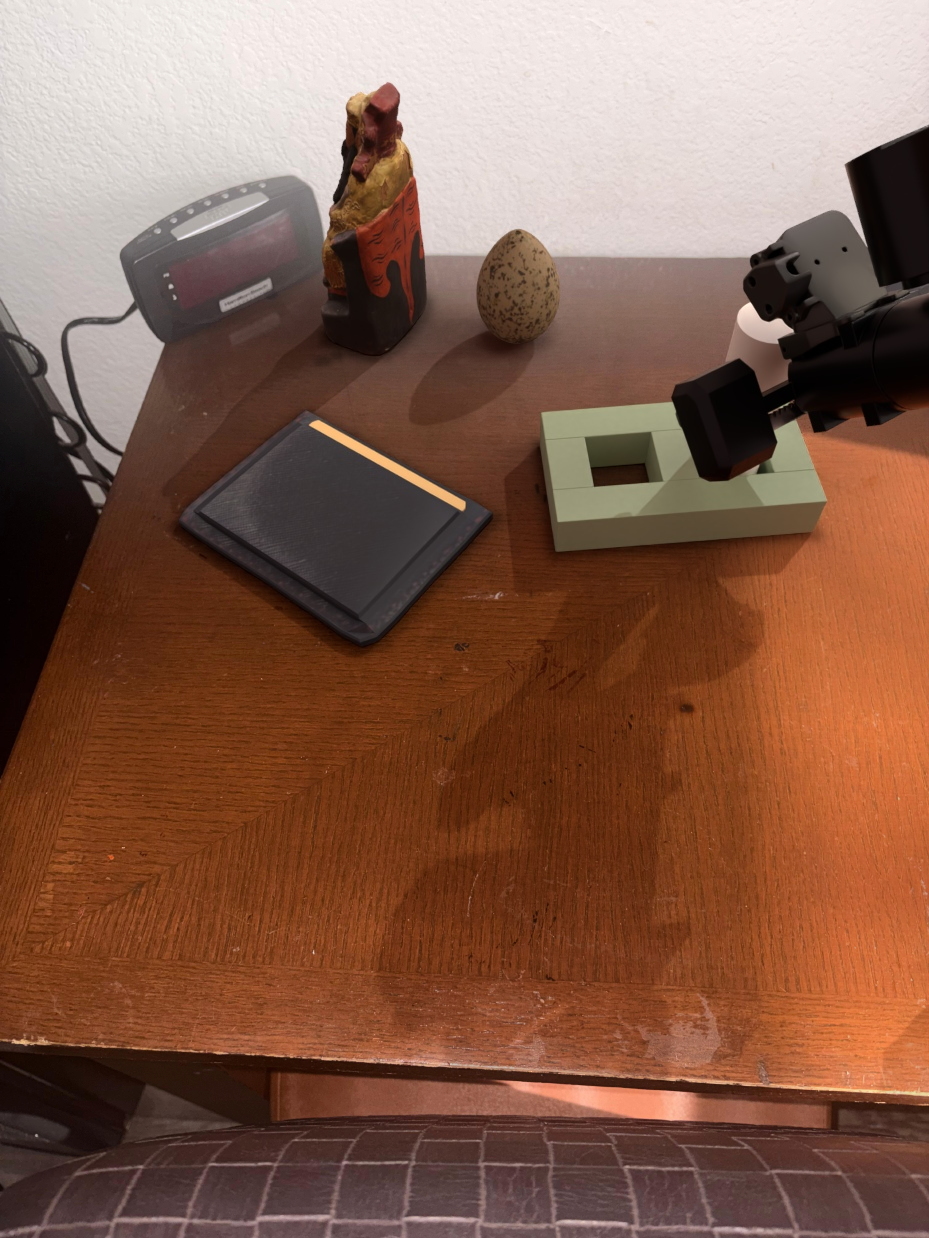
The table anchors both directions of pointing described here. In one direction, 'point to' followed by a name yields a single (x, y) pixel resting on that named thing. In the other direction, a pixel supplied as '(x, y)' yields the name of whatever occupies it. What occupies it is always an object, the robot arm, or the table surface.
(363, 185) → the statue
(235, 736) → the table surface
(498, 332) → the decorative egg
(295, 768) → the table surface
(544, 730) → the table surface
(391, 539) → the wallet
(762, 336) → the tube
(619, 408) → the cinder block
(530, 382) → the table surface
